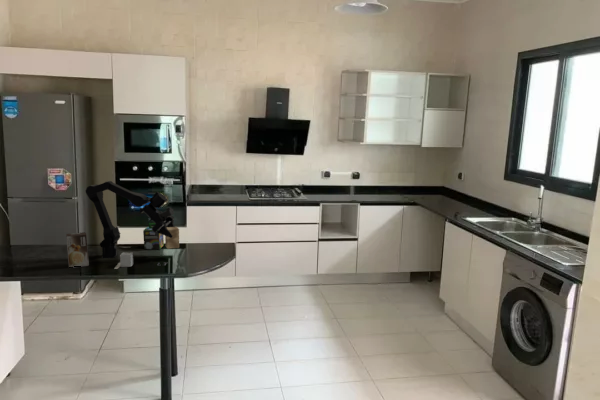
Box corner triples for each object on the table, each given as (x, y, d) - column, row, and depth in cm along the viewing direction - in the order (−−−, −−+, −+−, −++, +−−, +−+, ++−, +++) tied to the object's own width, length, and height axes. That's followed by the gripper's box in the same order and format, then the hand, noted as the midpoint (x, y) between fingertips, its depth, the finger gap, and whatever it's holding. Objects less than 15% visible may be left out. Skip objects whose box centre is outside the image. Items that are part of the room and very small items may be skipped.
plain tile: (113, 269, 233) (113, 268, 233) (119, 263, 243) (119, 262, 243) (135, 268, 234) (135, 268, 234) (139, 262, 244) (139, 262, 244)
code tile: (147, 268, 235) (147, 267, 235) (152, 261, 247) (152, 260, 247) (172, 267, 236) (172, 267, 236) (175, 261, 248) (175, 260, 248)
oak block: (167, 248, 247) (167, 229, 246) (165, 246, 252) (165, 227, 251) (179, 247, 250) (179, 229, 248) (176, 245, 255) (176, 226, 254)
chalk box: (164, 245, 279) (163, 220, 277) (160, 249, 270) (159, 224, 268) (148, 245, 279) (147, 220, 277) (143, 249, 270) (142, 224, 268)
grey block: (120, 266, 236) (120, 255, 235) (122, 264, 241) (122, 252, 240) (131, 266, 236) (130, 255, 235) (133, 263, 241) (132, 252, 240)
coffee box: (88, 262, 243) (86, 231, 241) (89, 265, 238) (87, 234, 235) (68, 264, 239) (66, 233, 237) (68, 268, 234) (66, 236, 231)
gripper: (157, 206, 239) (179, 228, 240) (170, 200, 257) (190, 221, 258) (142, 221, 240) (164, 243, 241) (156, 214, 259) (176, 235, 260)
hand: (174, 235), depth 250 cm, fingers closed on oak block, 8 cm apart
